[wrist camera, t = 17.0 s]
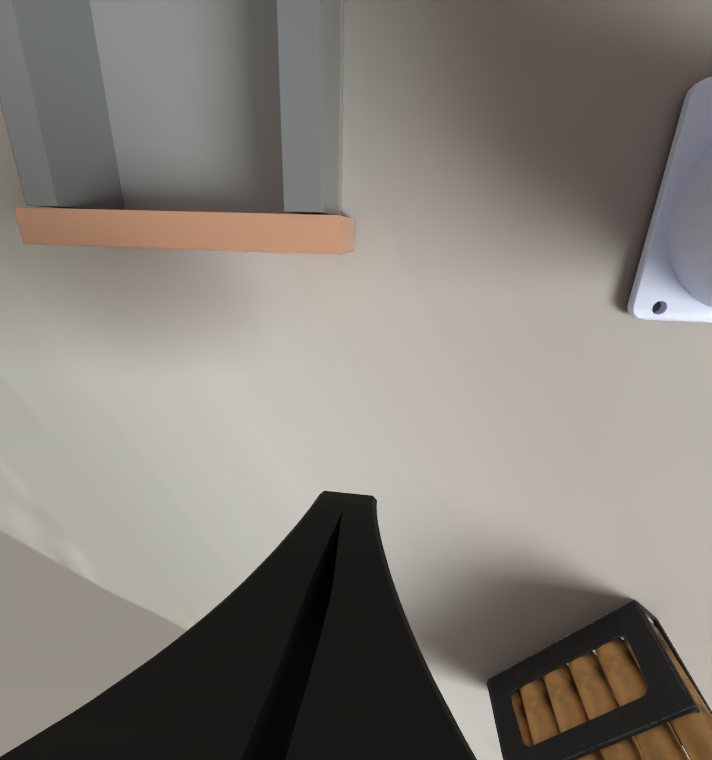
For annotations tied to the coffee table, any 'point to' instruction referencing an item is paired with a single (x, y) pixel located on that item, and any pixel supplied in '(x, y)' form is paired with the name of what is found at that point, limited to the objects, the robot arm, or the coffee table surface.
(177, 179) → the tray
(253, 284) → the coffee table surface
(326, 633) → the robot arm
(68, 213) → the end cap
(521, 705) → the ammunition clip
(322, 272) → the coffee table surface
